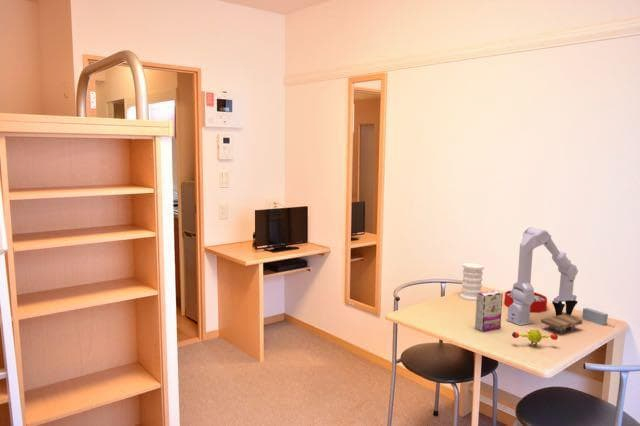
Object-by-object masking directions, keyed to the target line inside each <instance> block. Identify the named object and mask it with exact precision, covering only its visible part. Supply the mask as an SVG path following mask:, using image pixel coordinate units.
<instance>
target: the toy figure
mask: <svg viewBox="0 0 640 426" xmlns="http://www.w3.org/2000/svg"><path fill="white" fill-rule="evenodd" d="M511 336H512V337H513V338H514V339H518V338H519V337H522V338H528V340H529V341H530V342H531V343H530V345H529V346H531V347H533V345H534V346H535V347H537V346H538V343H540V342H541V340H542V339H545V338H546V339H548V338H551V340H554V341H555V340H558V337H559V336H558V335H557V334H556V333H551V334H550V335H547V334H542V333H541V332H540V331H539V330H538V329H536V328H533V329H531V330H529V329H527V330H526V333H525V334H524V333H523V334H519V333H518V332H517V331H513V332H512V334H511Z"/></svg>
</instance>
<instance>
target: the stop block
mask: <svg viewBox="0 0 640 426" xmlns="http://www.w3.org/2000/svg"><path fill="white" fill-rule="evenodd" d="M608 316H609V315H608V313H605V312H602V311H598V310H596V309H593V308H588V307H585V308H582V316H581V317H582V318H581V320H585V321H589V322H590V323H595V324H597V325H601V326H606V325H608Z"/></svg>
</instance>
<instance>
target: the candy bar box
mask: <svg viewBox="0 0 640 426" xmlns="http://www.w3.org/2000/svg"><path fill="white" fill-rule="evenodd" d="M503 294H504V292H502V291H499V290H496V289H495V290H488V291H481V293H477V301H475V302H476V305H475V306H476V307H475V321H474V322H475V323H474V324H475V325H474V329H475V330H477V331H480V332H482V333H485V332H488V331H494V330H498V329H501V327H502V326H501V324H502V323H501V322H502V309H503Z"/></svg>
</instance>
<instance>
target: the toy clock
mask: <svg viewBox="0 0 640 426" xmlns="http://www.w3.org/2000/svg"><path fill="white" fill-rule="evenodd" d="M511 291H512V289H511V290H507V291H505V292H504V302H503V303H504V306H505V307H506V308H509V306H510V305H512V304H513V302H514V301H513V298H512V296H511ZM534 295H535V300H534V302H533V303H532V304H531V305H530V313H537V314H539V313H544V312H546V311H547V307H548V306H547V305H548V304H547V303H548V298H547V296H545V295H543V294H541V293H538V292H535V291H534Z"/></svg>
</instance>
